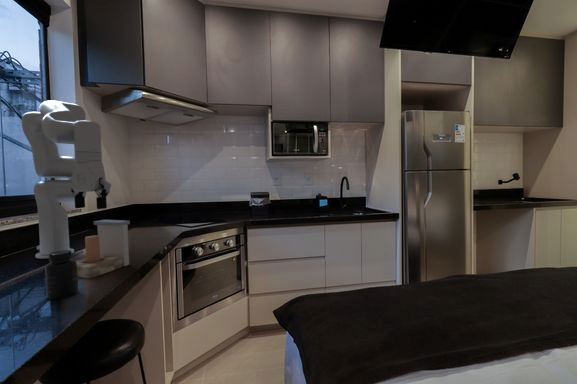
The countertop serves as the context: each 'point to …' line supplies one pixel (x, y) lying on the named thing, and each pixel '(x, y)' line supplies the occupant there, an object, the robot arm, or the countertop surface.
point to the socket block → (98, 266)
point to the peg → (92, 249)
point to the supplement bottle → (61, 275)
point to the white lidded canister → (114, 239)
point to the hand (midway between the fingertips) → (90, 208)
